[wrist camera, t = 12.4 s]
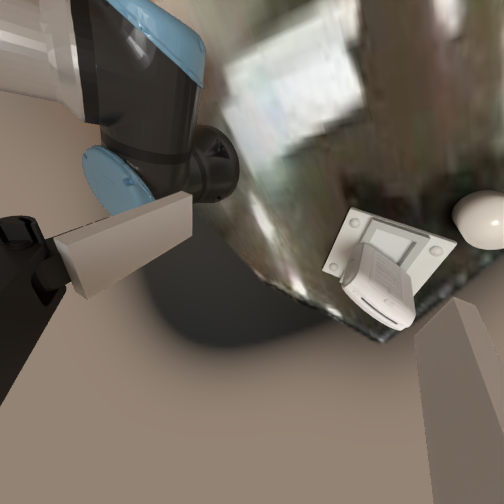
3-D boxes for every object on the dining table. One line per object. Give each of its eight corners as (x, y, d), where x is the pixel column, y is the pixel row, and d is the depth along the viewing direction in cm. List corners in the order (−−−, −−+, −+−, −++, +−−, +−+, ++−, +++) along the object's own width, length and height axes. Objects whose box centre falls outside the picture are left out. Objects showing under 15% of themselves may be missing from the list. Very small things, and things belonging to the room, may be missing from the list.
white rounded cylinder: (442, 222, 34) (450, 239, 30) (470, 184, 31) (484, 196, 26) (488, 237, 32) (505, 256, 28) (524, 198, 29) (550, 213, 24)
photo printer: (345, 253, 41) (333, 295, 31) (363, 237, 38) (355, 277, 29) (393, 289, 40) (395, 343, 30) (415, 275, 37) (424, 329, 28)
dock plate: (323, 267, 47) (320, 274, 45) (350, 206, 39) (349, 211, 37) (405, 302, 43) (406, 311, 41) (455, 241, 34) (459, 248, 33)
